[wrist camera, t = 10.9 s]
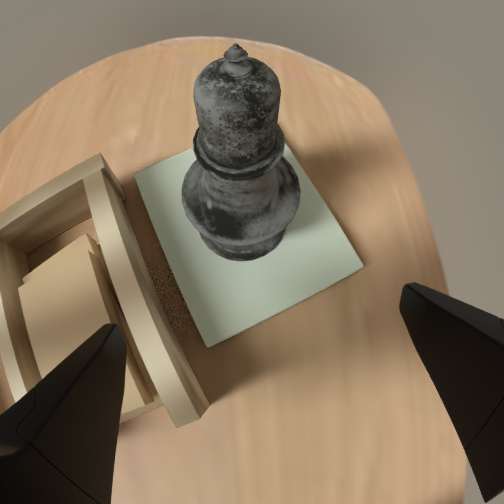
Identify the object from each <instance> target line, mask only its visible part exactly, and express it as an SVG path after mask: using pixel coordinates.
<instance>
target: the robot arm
mask: <svg viewBox="0 0 504 504" xmlns="http://www.w3.org/2000/svg"><path fill="white" fill-rule="evenodd" d="M399 309H400V313H401V315H402V318H403V320H404V322H405V325H406V327H407V329H408V332H409V334H410V337H411V339H412V342H413V344H414V346H415V348H416V350H417V352H418V354H419V356H420V358H421V360H422V362H423V364H424V366H425V368H426V370H427V372H428V373H429V375H430V377H431V379H432V381H433V383H434V385H435V387H436V389H437V391H438V393H439V395H440V398H441V400H442V402H443V404H444V406H445V408H446V410H447V412H448V414H449V416H450V419H451V421H452V423H453V425H454V427H455V430H456V432H457V434H458V436H459V439H460V441H461V443H462V446H463V448H464V450H465V453H466V456H467V458H468V460H469V463H470V465H471V468H472V470H473V473H474V475H475V478H476V480H477V483H478V486H479V489H480V491H481V494H482V497H483V499H484V501H485V503H487V502H488V501H490V500H491V499H493V498H494V497H496V496H497V495H499V494H500V493H502V492H503V491H504V319H502V318H500V319H499V318H498V317H497V316H495V315H492V314H490V313H488V312H485V311H483V310H481V309H478V308H476V307H474V306H471V305H469V304H466V303H464V302H462V301H460V300H457V299H455V298H452V297H450V296H448V295H445V294H443V293H440V292H438V291H436V290H433V289H431V288H428V287H426V286H423V285H421V284H418V283H416V282H413V283H408V284H405V285H404V286H403V289H402V294H401V299H400V304H399ZM126 358H127V345H126V342H125V339H124V337H123V334H122V332H121V329H120V327H119V325H118V324H117V323H107V324H104V325H103V326H102V327H101V328H99V329H98V330H97V331H96V332H95V333H94V334H92V335H91V336H90V337H89V338H88V339H87V340H86V341H84V342H83V343H82V344H81V345H80V346H79V347H78V348H76V349H75V350H74V351H73V352H72V353H71V354H70V355H68V356H67V357H66V358H65V359H64V360H63V361H62V362H60V363H59V364H58V365H57V366H56V367H55V368H54V369H53V370H52V371H50V372H49V373H48V374H47V375H46V376H45V377H44V378H43V379H42V380H40V381H39V382H38V383H37V384H36V385H35V387H33V388H32V389H30V390H29V391H28V392H27V393H26V394H25V395H24V396H23V397H22V398H21V399H19V400H18V401H17V402H16V403H15V404H14V405H12V406H11V407H10V408H9V409H7V410H6V411H5V412H4V413H2V414H1V415H0V504H111V494H112V482H113V472H114V462H115V454H116V445H117V438H118V430H119V423H120V416H121V410H122V404H123V397H124V390H125V374H126Z"/></svg>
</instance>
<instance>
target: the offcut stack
mask: <svg viewBox="0 0 504 504" xmlns="http://www.w3.org/2000/svg"><path fill="white" fill-rule="evenodd" d="M22 279H23V283H24V285H22V286H21V287H19V288H18V291H19V296H20V301H21V305H22V310H23V314H24V319H25V323H26V327H27V331H28V335H29V338H30V342H31V345H32V349H33V352H34V356H35V359H36V362H37V365H38V368H39V372H40V375H41V377H42V379H43V378H44V377H45V376H46V375H47V374H48V373H49V372H50V371H52V370H53V369H54V368H55V367H56V366H57V365H58V364H59V363H60V362H62V361H63V360H64V359H65V358H66V357H67V356H68V355H70V354H71V353H72V352H73V351H74V350H75V349H76V348H78V347H79V346H80V345H81V344H82V343H83V342H84V341H86V340H87V339H88V338H89V337H90V336H91V335H92V334H94V333H95V332H96V331H97V330H98V329H99V328H101V327H102V326H103V325H104V324H107V323H117V324H118V325H119V327H120V329H121V332H122V334H123V337H124V339H125V342H126V345H127V358H126V374H125V390H124V397H123V404H122V410H121V416H120V423H123V422H125V421H127V420H130V419H132V418H135V417H137V416H139V415H142V414H144V413H146V412H149V411H151V410H153V409H155V408H158V407H160V406H162V405H164V404H163V402H162V400H161V398H160V396H159V394H158V392H157V390H156V388H155V385H154V383H153V381H152V379H151V377H150V375H149V373H148V370H147V368H146V366H145V364H144V361H143V359H142V357H141V355H140V352H139V350H138V348H137V345H136V343H135V340H134V338H133V336H132V333H131V331H130V328H129V326H128V323H127V321H126V318H125V315H124V313H123V310H122V308H121V305H120V302H119V299H118V297H117V294H116V291H115V288H114V285H113V283H112V280H111V277H110V274H109V271H108V268H107V265H106V262H105V258H104V255H103V252H102V249H101V246H100V244H99V245H97V243H96V241H95V240H93V239H92V238H91V237H90V236H89V235H87V234H86V233H85V234H83V235H82V236H80V237H79V238H77V239H76V240H74V241H73V242H72V243H70V244H69V245H67V246H66V247H64V248H63V249H62V250H60V251H59V252H57V253H56V254H55V255H53V256H52V257H50V258H49V259H48V260H46V261H45V262H44V263H42V264H41V265H40V266H38V267H37V268H36V269H34V270H33V271H32V272H30V273H29V274H28V275H26V276H25V277H24V278H22ZM120 423H119V424H120Z"/></svg>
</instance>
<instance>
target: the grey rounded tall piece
mask: <svg viewBox="0 0 504 504" xmlns="http://www.w3.org/2000/svg"><path fill="white" fill-rule="evenodd" d="M247 56H248V53H247V52H246V51H245V50H243V48H242V47H240V46H239V45H238V44H236V43H235V44H233V46H231V47H230V48H229V50H228V51H226V52H225V53H224V58H220V59H218V60H216V61H214V62H212V63H210V64H209V65H208V66H206V67H205V68H204V70H203V71H202V72H201V73H200V74H199V75H198V77H197V79H196V81H195V84H194V103H195V108H196V113H197V119H198V124H199V127H198V129H197V130H196V133H195V136H194V139H193V151H194V153H195V156H196V159H197V160H196V161H194V162H193V163H192V165H191V166H190V168H189V170H188V171H187V173H186V175H185V177H184V181H183V184H182V188H181V197H182V205H183V208H184V211H185V214H186V216H187V218H188V219H189V220H190V222H191V223H192V225H193V226H194V227H195V228H196V229H197V230H198V231H199V233H200V236H201V239H202V240H203V241H204V243H205V244H206V246H207V247H208V248H209V249H210V250H212V251H213V252H214V253H215V254H217V255H218V256H221V257H223V258H225V259H228V260H233V261H240V262H241V261H251V260H255V259H258V258H260V257H263V256H265V255H266V254H268V253H269V252H271V251H272V250H274V248H275V247H276V246H277V245H278V244H279V242H280V241H281V240H282V237H283V235H284V233H285V230H286V227H287V225H288V224H289V223H290V222H291V221H292V219H293V218H294V216H295V214H296V211H297V209H298V207H299V203H300V193H301V189H300V184H299V179H298V176H297V174H296V172H295V170H294V169H293V167H292V165H291V164H290V163H289V162H288V161H287V160H286V159H285V158H284V157H283V153H284V147H285V139H284V134H283V132H282V130H281V128H280V126H279V125H278V124H277V122H278V113H279V104H280V96H281V89H280V84H279V80H278V77H277V76H276V74H275V73H274V71H273V70H272V69H271V68H270V67H268V66H267V65H266V64H265V63H263V62H261V61H259V60H257V59H255V58H251V57H247Z"/></svg>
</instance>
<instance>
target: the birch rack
mask: <svg viewBox="0 0 504 504" xmlns="http://www.w3.org/2000/svg"><path fill="white" fill-rule="evenodd" d="M125 199H126V197H125V194H124V191H123V188H122V185H121V184H120V182H119V181H118V179H117V178H116V176H115V175H114V173H113V172H112V170H111V169H110V167H109V165H108V164H107V162H106V161H105V159H104V158H103V156H102V155H101V153H99V154H97V155H95V156H93V157H91V158H89V159H87V160H86V161H84V162H82V163H80V164H78V165H76V166H75V167H73V168H71V169H69V170H68V171H66V172H64V173H62V174H61V175H59V176H57V177H56V178H54V179H52V180H50V181H49V182H47V183H46V184H44V185H42V186H41V187H39V188H37V189H36V190H34V191H33V192H31V193H30V194H28V195H26V196H25V197H23V198H22V199H20V200H19V201H17V202H16V203H14V204H13V205H11V206H10V207H9V208H7V209H6V210H4V211H3V212H1V213H0V355H1V359H2V363H3V366H4V370H5V373H6V376H7V379H8V383H9V386H10V389H11V392H12V395H13V397H14V400H15V403H16V402H17V401H18V400H19V399H21V398H22V397H23V396H24V395H25V394H26V393H27V392H28V391H29V390H30V389H32V388H33V387H35V385H36V384H37V383H38V382H39V381H40V380H42V377H41V375H40V372H39V368H38V365H37V362H36V359H35V356H34V352H33V349H32V345H31V342H30V338H29V335H28V331H27V327H26V323H25V319H24V314H23V310H22V305H21V301H20V296H19V291H18V288H19V287H21V286H22V285H24V283H23V279H22V278H24V277H25V276H26V275H28V274H29V273H30V272H29V267H28V262H27V256H26V254H28V253H29V252H31V251H32V250H34V249H36V248H37V247H39V246H41V245H42V244H44V243H46V242H47V241H49V240H51V239H53V238H54V237H56V236H58V235H60V234H61V233H63V232H65V231H67V230H68V229H70V228H72V227H74V226H75V225H77V224H79V223H81V222H83V221H85V220H86V219H88V218H90V217H92V218H93V221H94V225H95V229H96V232H97V236H98V239H99V242H100V246H101V249H102V252H103V255H104V258H105V262H106V265H107V268H108V271H109V274H110V277H111V280H112V283H113V285H114V288H115V291H116V294H117V297H118V299H119V302H120V305H121V308H122V310H123V313H124V315H125V318H126V321H127V323H128V326H129V328H130V331H131V333H132V336H133V338H134V340H135V343H136V345H137V348H138V350H139V352H140V355H141V357H142V359H143V361H144V364H145V366H146V368H147V370H148V373H149V375H150V377H151V379H152V381H153V383H154V385H155V388H156V390H157V392H158V394H159V396H160V398H161V400H162V402H163V404H164V406H165V408H166V410H167V412H168V414H169V416H170V418H171V420H172V421H173V423H174V425H175V427H176V428H178V427H180V426H183V425H185V424H188V423H190V422H193V421H195V420H198V419H200V418H201V416H202V415H203V414H204V413H205V411H206V410H207V409H208V407H209V406H210V404H209V402H208V400H207V398H206V396H205V394H204V393H203V391H202V389H201V387H200V385H199V383H198V381H197V379H196V377H195V375H194V373H193V371H192V369H191V367H190V364H189V362H188V360H187V358H186V356H185V354H184V352H183V350H182V348H181V346H180V343H179V341H178V339H177V337H176V335H175V332H174V330H173V328H172V326H171V324H170V321H169V319H168V317H167V314H166V312H165V310H164V307H163V305H162V303H161V300H160V298H159V296H158V293H157V291H156V288H155V286H154V284H153V281H152V279H151V276H150V274H149V271H148V269H147V266H146V263H145V261H144V258H143V256H142V253H141V250H140V248H139V245H138V242H137V240H136V237H135V234H134V231H133V229H132V226H131V223H130V220H129V217H128V214H127V211H126V208H125V206H124V203H123V200H125Z"/></svg>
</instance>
